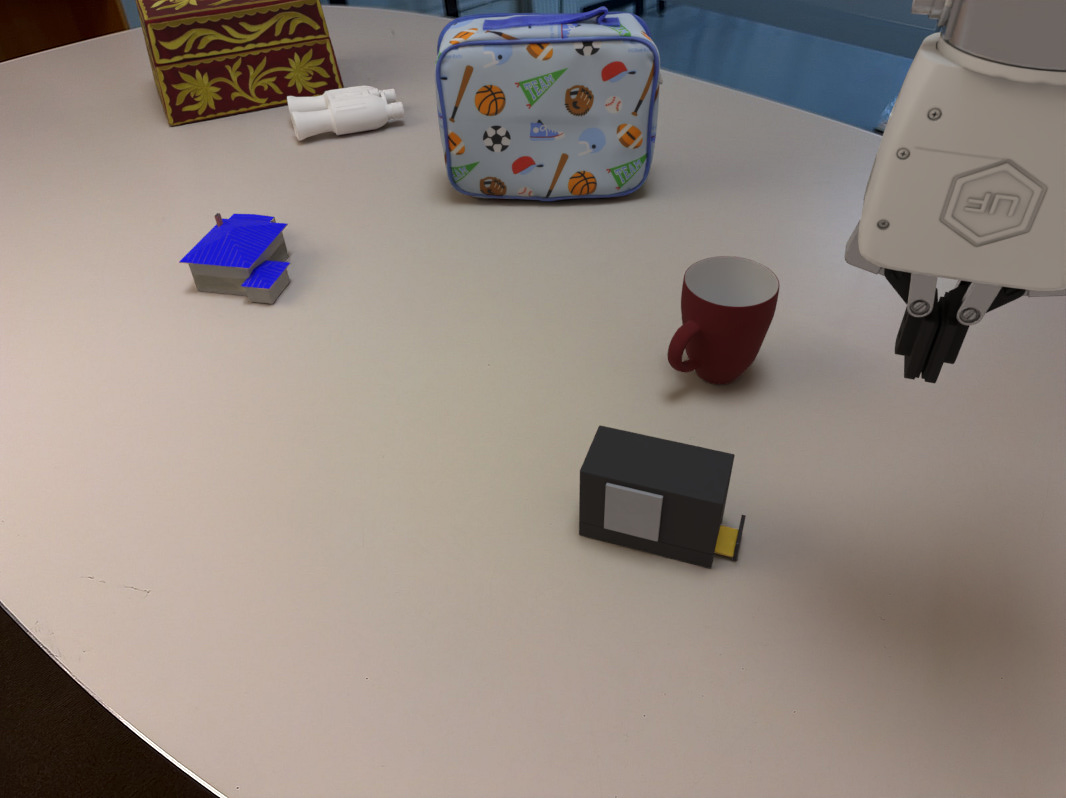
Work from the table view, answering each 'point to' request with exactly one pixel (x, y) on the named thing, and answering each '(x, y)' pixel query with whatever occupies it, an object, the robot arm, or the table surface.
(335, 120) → the binoculars
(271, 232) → the house
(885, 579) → the table surface
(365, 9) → the table surface
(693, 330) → the mug
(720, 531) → the tape blade
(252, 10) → the decorative box
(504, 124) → the lunch box
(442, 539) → the table surface
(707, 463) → the tape case
